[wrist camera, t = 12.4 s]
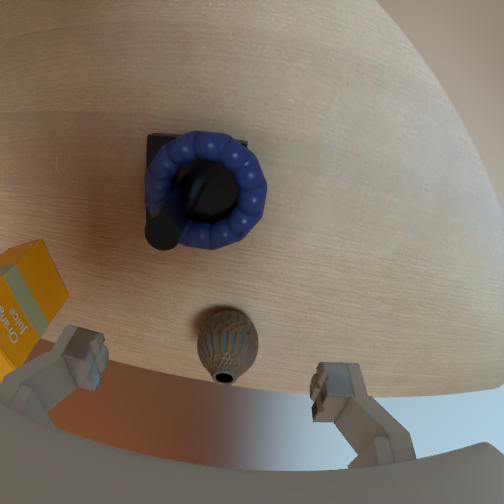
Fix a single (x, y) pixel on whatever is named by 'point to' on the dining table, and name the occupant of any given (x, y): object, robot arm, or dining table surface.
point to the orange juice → (26, 301)
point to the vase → (227, 345)
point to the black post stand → (189, 196)
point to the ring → (229, 157)
